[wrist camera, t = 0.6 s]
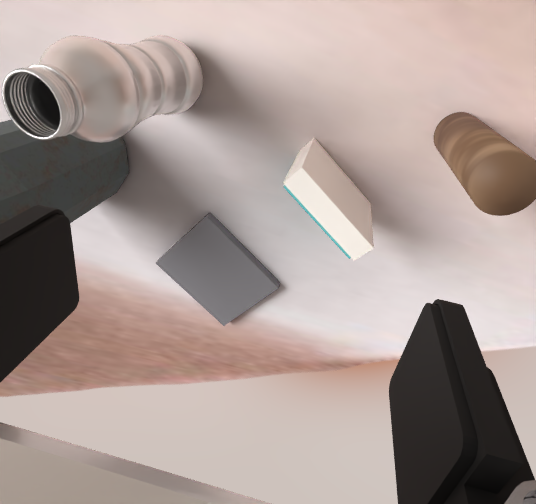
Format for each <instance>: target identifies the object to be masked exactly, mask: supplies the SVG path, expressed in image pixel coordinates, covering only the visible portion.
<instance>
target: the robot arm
mask: <svg viewBox="0 0 536 504" xmlns="http://www.w3.org/2000/svg"><path fill="white" fill-rule="evenodd" d="M78 302H79V291H78V283H77V275H76V267H75V259H74V251H73V243H72V235H71V227H70V221H69V219H68V218H67V217H66V216H65V214H64V212H63V211H62V210H60V209H56V208H52V207H48V206H43V205H36V206H33V207H31V208H30V209H28V210H26V211H24V212H22V213H20V214H18V215H17V216H15V217H13V218H11V219H9V220H7V221H5V222H4V223H2V224H0V382H1V381H2V380H3V379H4V378H5V377H6V376H7V375H8V374H9V373H10V372H12V371H13V370H14V369H15V368H16V367H17V366H18V365H19V364H20V363H21V362H22V361H23V360H24V359H25V358H26V357H27V356H28V355H29V354H30V353H31V352H32V351H33V350H34V349H35V348H36V347H37V346H38V345H39V344H40V343H41V342H42V341H43V340H44V339H45V338H46V337H47V336H48V335H49V334H50V333H51V332H52V331H53V330H54V329H55V328H56V327H57V326H58V325H59V324H60V323H61V322H63V321H64V320H65V319H66V318H67V317H68V316H69V315H70V314H71V313H72V312H73V311H74V310H75V308H76V307H77V305H78ZM389 399H390V411H391V423H392V435H393V447H394V459H395V470H396V482H397V495H398V504H536V480H535V478H534V476H533V474H532V471H531V468H530V466H529V463H528V461H527V458H526V455H525V453H524V451H523V448H522V445H521V443H520V440H519V438H518V435H517V433H516V430H515V428H514V425H513V422H512V420H511V417H510V415H509V412H508V410H507V407H506V404H505V402H504V399H503V397H502V394H501V392H500V389H499V387H498V384H497V382H496V379H495V377H494V375H493V373H492V371H491V370H490V369H489V368H487V367H486V364H485V361H484V359H483V356H482V354H481V351H480V348H479V346H478V343H477V340H476V338H475V335H474V332H473V330H472V327H471V325H470V322H469V319H468V317H467V314H466V311H465V309H464V307H463V305H461V304H456V303H452V302H448V301H444V300H439V299H437V300H435V301H434V303H433V304H431V303H426V304H425V306H424V308H423V310H422V312H421V314H420V316H419V319H418V321H417V323H416V325H415V327H414V330H413V332H412V334H411V336H410V338H409V341H408V343H407V345H406V347H405V349H404V352H403V354H402V356H401V358H400V360H399V363H398V365H397V367H396V369H395V371H394V374H393V376H392V378H391V381H390V386H389ZM0 504H270V503H267V502H264V501H260V500H257V499H254V498H251V497H247V496H244V495H240V494H237V493H234V492H231V491H227V490H224V489H221V488H218V487H214V486H211V485H208V484H205V483H201V482H198V481H195V480H191V479H188V478H185V477H182V476H178V475H175V474H172V473H169V472H165V471H162V470H158V469H155V468H152V467H149V466H145V465H142V464H138V463H135V462H132V461H128V460H125V459H122V458H119V457H115V456H112V455H109V454H105V453H101V452H98V451H95V450H92V449H88V448H85V447H82V446H78V445H75V444H71V443H68V442H65V441H61V440H58V439H55V438H51V437H48V436H45V435H41V434H38V433H35V432H31V431H28V430H25V429H21V428H18V427H14V426H11V425H7V424H4V423H0Z"/></svg>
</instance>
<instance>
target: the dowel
mask: <svg viewBox="0 0 536 504" xmlns="http://www.w3.org/2000/svg"><path fill="white" fill-rule="evenodd" d="M434 144H435V146H436V148H437V150H438V151H439V152H440V154H441V155H442V157H443V158H444V160H445V161H446V163H447V164H448V166H449V167H450V169H451V170H452V171H453V173H454V174H455V176H456V177H457V179H458V180H459V182H460V183H461V185H462V186H463V188H464V189H465V190H466V192H467V193H468V195H469V196H470V198H471V199H472V201H473V202H474V204H475V205H476V206H477V207H478V208H479V209H480V210H482V211H483V212H485V213H488V214H491V215H498V216H502V215H510V214H513V213H516V212H519V211H521V210H523V209H524V208H526V207H527V206H529V205H530V204H531V203H532V202H533V201H534V200H535V199H536V160H534V159H533V158H532V157H530V156H529V155H527V154H526V153H525V152H523V151H522V150H520V149H519V148H518V147H516V146H515V145H514V144H512V143H511V142H509V141H508V140H507V139H505V138H504V137H502V136H501V135H500V134H498V133H497V132H495V131H494V130H493V129H491V128H490V127H488V126H487V125H486V124H484V123H483V122H481V121H480V120H479V119H477V118H476V117H474V116H473V115H471V114H469V113H465V112H458V113H453V114H451V115H449V116H447V117H445V118H444V119H443V120H442V121H441V122H440V123H439V124H438V126H437V127H436V130H435V133H434Z"/></svg>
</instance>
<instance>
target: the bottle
mask: <svg viewBox="0 0 536 504" xmlns="http://www.w3.org/2000/svg"><path fill="white" fill-rule="evenodd" d="M128 173H129V168H128V160H127V152H126V145H125V142H124V141H123V139H122V138H121V137H119V138H118V139H116V140H113V141H110V142H102V143H101V142H91V141H85V140H82V139H79V138H76V137H75V136H73V135H71V134H69V135H66V136H61V137H56V138H53V139H49V140H39V139H35V138H32V137H30V136H29V135H27V134H25V133H24V132H23V131H21V130H20V129H19V128H18V127H17V126H16V125H15V123H14V122H13V121H12V120H8V121H4V122H0V224H2V223H4V222H5V221H7V220H9V219H11V218H13V217H15V216H17V215H18V214H20V213H22V212H24V211H26V210H28V209H30V208H31V207H33V206H36V205H43V206H48V207H52V208H56V209H60V210H62V211H63V212H64V214H65V216H66V217H67V218H68V219H69V221H70V223H71V222H73V221H74V220H76V219H77V218H79V217H80V216H82V215H83V214H85V213H86V212H88V211H89V210H91V209H92V208H94V207H95V206H97V205H98V204H100V203H101V202H103V201H104V200H106V199H107V198H109V197H111V196H112V195H114V194H115V193H117V191H118V189H119V188H120V186H121V184H122V183H123V181H124V180H125V178H126V176H127V175H128Z"/></svg>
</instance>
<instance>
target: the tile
mask: <svg viewBox="0 0 536 504" xmlns="http://www.w3.org/2000/svg"><path fill="white" fill-rule="evenodd" d="M283 184H284V188H285V189H286V190H287V191H288V193H289V194H290V195H291V196H292V197H293V198H294V199H295V200H296V201H297V202H298V203H299V205H300V206H301V207H302V208H303V209H304V210H305V211H306V212H307V213H308V214H309V215H310V217H311V218H312V219H313V220H314V221H315V222H316V223H317V224H318V225H319V226H320V227H321V229H322V230H323V231H324V232H325V233H326V234H327V235H328V236H329V237H330V238H331V239H332V241H333V242H334V243H335V244H336V245H337V246H338V247H339V248H340V249H341V250H342V251H343V253H344V254H345V255H346V256H347V257H348V258H349V259H350V258H352V259H353V260H354V261H355V260H357V259H358V258H360V257H361V256H363V255H364V254H366V253H368V252H369V251H371V250H372V249H374V244H373V230H372V216H371V203H370V202H369V201H368V200H367V198H366V197H365V196H364V195H363V194H362V193H361V191H360V190H359V189H358V188H357V187H356V186H355V184H354V183H353V182H352V181H351V180H350V179H349V177H348V176H347V175H346V174H345V173H344V172H343V170H342V169H341V168H340V167H339V166H338V165H337V164H336V162H335V161H334V160H333V159H332V158H331V157H330V155H329V154H328V153H327V152H326V151H325V150H324V148H323V147H322V146H321V145H320V144H319V143H318V141H317V140H316V139H315V138H313V139H312V140H311V141H310V142H309V143H307V144H306V145H305V146H304V147H303V148H302V149H301V150H300V151H299V152H298V154H297V156H296V158H295V160H294V162H293V164H292V166H291V168H290V170H289V172H288V174H287V176H286V178H285V180H284V182H283Z"/></svg>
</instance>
